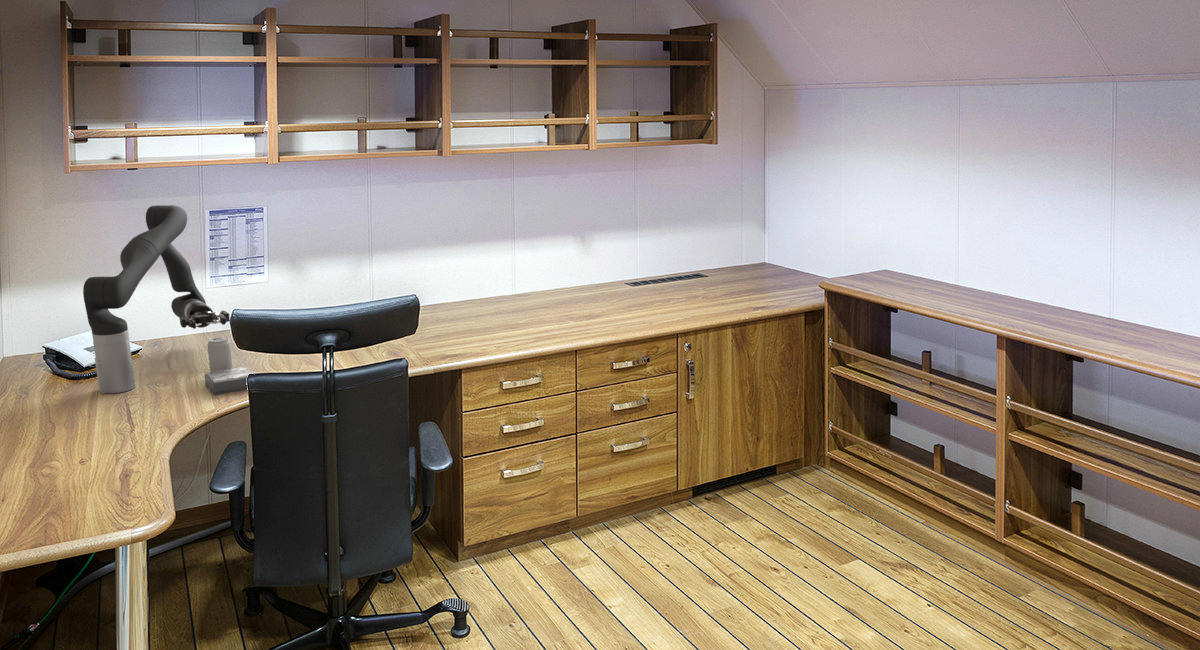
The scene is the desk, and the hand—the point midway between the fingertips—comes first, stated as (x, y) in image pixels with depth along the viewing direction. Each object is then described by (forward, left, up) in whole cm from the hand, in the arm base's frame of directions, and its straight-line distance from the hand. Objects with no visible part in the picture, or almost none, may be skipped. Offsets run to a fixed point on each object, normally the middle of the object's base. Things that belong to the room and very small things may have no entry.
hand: (209, 323), depth 294 cm
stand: (0, -24, -14) cm, 28 cm away
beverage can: (0, -12, -15) cm, 19 cm away
